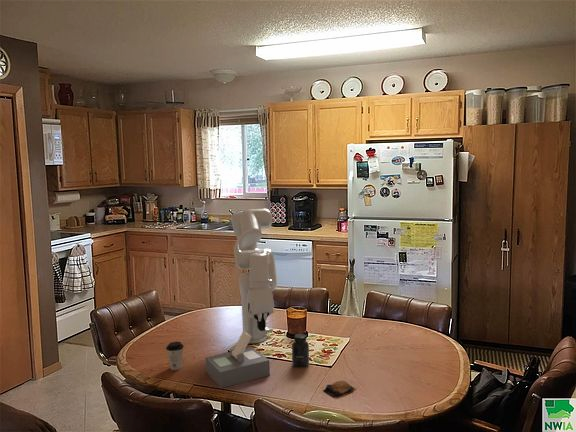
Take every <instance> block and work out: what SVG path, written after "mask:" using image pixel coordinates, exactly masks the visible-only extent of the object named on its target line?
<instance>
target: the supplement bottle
mask: <svg viewBox="0 0 576 432" xmlns="http://www.w3.org/2000/svg"><path fill="white" fill-rule="evenodd" d="M291 343H292V344H291V363H292V366H294V367H295V368H306V367H307V366H309V365H310V345H309V342H308V341H307V335H306V334H304V333H297V334H295V335H294V341H293V342H291Z"/></svg>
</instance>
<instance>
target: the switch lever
mask: <svg viewBox="0 0 576 432" xmlns="http://www.w3.org/2000/svg"><path fill="white" fill-rule="evenodd" d="M250 338H251V336H250V335H249V334H248V333H246V332H244V331H243V330H242V333H241V334H240V336H239V339H238V341H237V343H236V345H235V347H234V348H235V349H234V350H233V351H232V353H231V354H232V356H234V357H235V358H236V359H237V355H238V354H242V353H244V351H245V349H246V348H248V345H249V344H250V343H249V341H250Z"/></svg>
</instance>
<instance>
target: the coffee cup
mask: <svg viewBox="0 0 576 432" xmlns="http://www.w3.org/2000/svg"><path fill="white" fill-rule="evenodd" d="M165 349H166V354H167V359H168V363H169V368H170V370H171V371H178V370H181V369H182V368H183V355H184V353H183V352H184V345H183V344H182V342H181V341H172V342H169V343H168V345H167V346H166V347H165Z"/></svg>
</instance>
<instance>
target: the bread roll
mask: <svg viewBox="0 0 576 432" xmlns="http://www.w3.org/2000/svg"><path fill="white" fill-rule="evenodd" d="M356 390H357V388H356V387H354V386H352V385H351V384H350V383H348V382H347V381H345V380H342V379H341V380H337V381H335V382H333V383H332V384H327V385H326V388H325V389H323V390H322V392H323V393H325V394H327V395H328V396H329V397H331V398H335V399H338V398H341V397H343V396H346V395H348V394H350V393H352V392H353V391H356Z"/></svg>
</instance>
